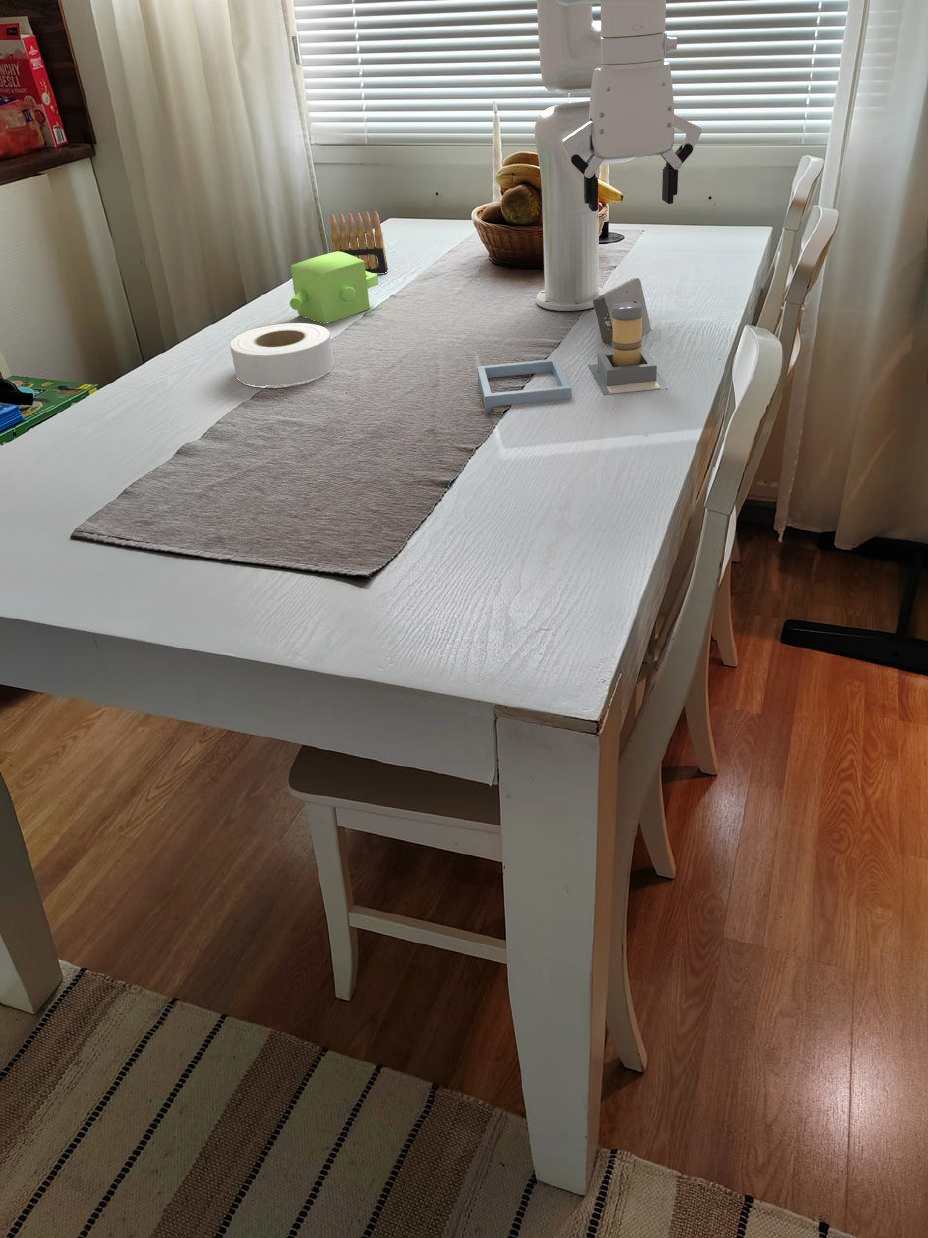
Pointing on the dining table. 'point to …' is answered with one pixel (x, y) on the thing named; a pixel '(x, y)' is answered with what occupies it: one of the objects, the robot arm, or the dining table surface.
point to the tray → (522, 395)
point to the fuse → (627, 334)
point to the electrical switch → (620, 294)
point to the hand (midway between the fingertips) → (630, 205)
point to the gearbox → (331, 287)
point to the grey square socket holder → (626, 375)
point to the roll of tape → (282, 354)
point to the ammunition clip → (361, 241)
